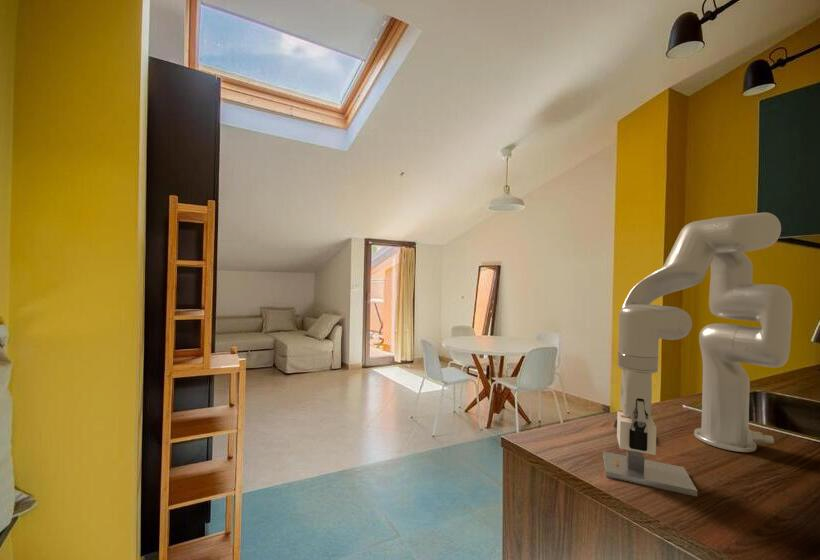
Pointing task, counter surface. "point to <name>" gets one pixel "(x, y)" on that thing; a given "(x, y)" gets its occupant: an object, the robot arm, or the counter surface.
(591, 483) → the counter surface
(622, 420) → the orange-striped white cube
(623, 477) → the plate
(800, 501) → the counter surface
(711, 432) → the robot arm
